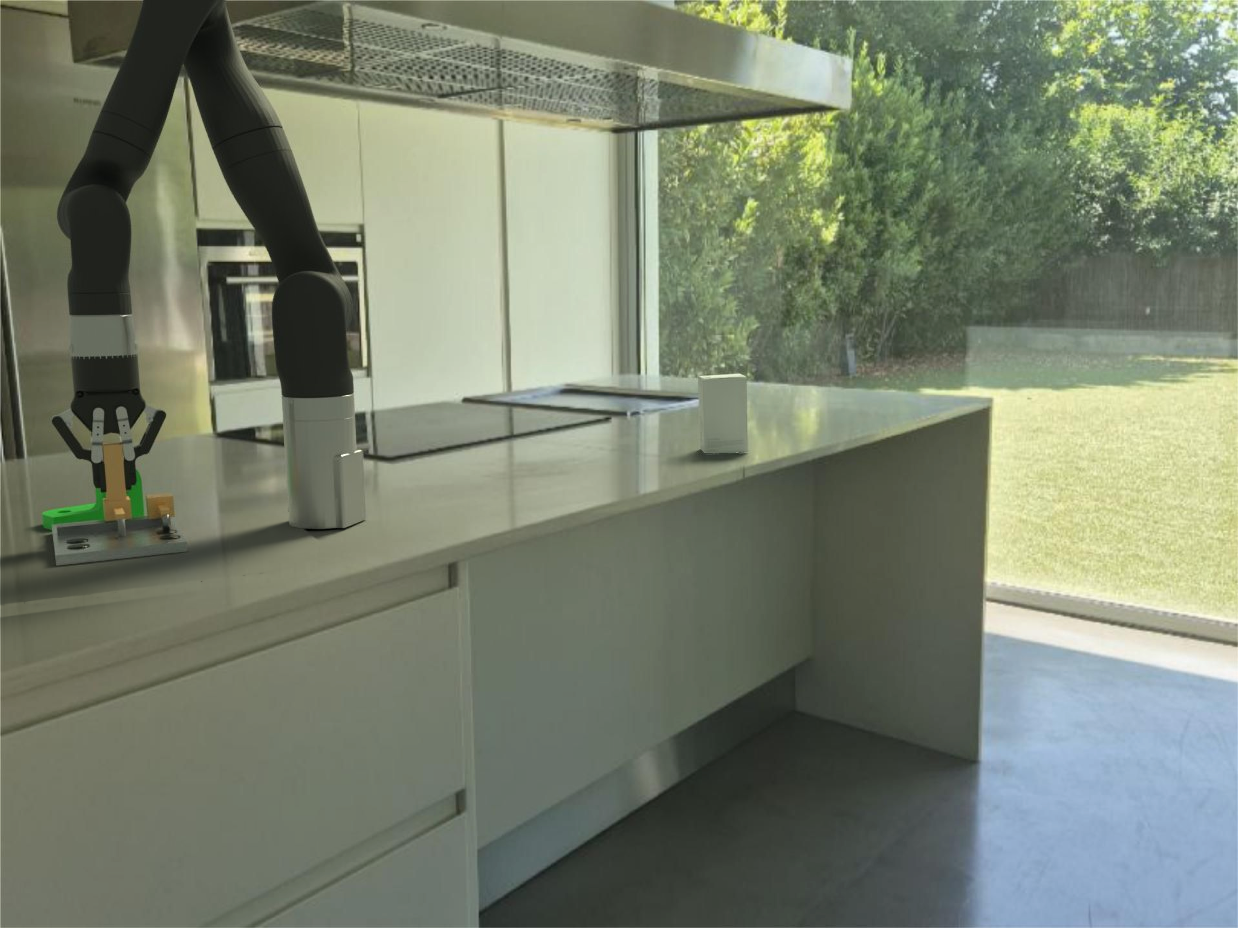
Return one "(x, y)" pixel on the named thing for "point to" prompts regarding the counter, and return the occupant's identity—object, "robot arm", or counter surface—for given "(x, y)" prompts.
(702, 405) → the skincare box
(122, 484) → the leg
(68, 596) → the counter surface
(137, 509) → the mechanical part
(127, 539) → the plate
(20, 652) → the counter surface
